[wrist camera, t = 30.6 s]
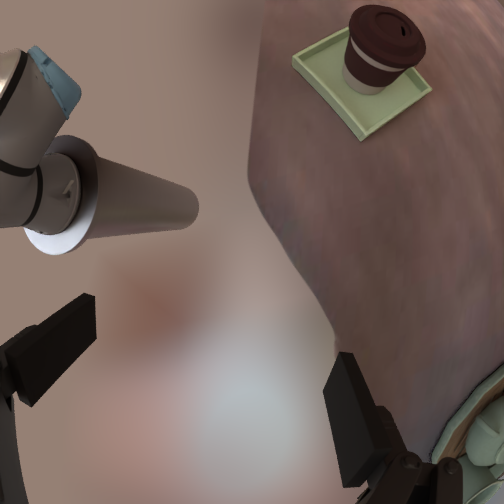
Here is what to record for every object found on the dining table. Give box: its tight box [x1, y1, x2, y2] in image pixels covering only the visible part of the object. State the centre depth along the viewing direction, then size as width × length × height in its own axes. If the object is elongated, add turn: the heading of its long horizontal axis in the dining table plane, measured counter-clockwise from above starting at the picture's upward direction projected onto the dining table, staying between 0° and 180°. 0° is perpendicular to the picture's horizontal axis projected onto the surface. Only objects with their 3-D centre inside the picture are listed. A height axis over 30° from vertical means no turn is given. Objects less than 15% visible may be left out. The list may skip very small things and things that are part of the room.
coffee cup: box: [342, 5, 426, 95], centre depth 30 cm, size 10×10×15 cm
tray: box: [292, 27, 432, 142], centre depth 36 cm, size 16×16×3 cm
